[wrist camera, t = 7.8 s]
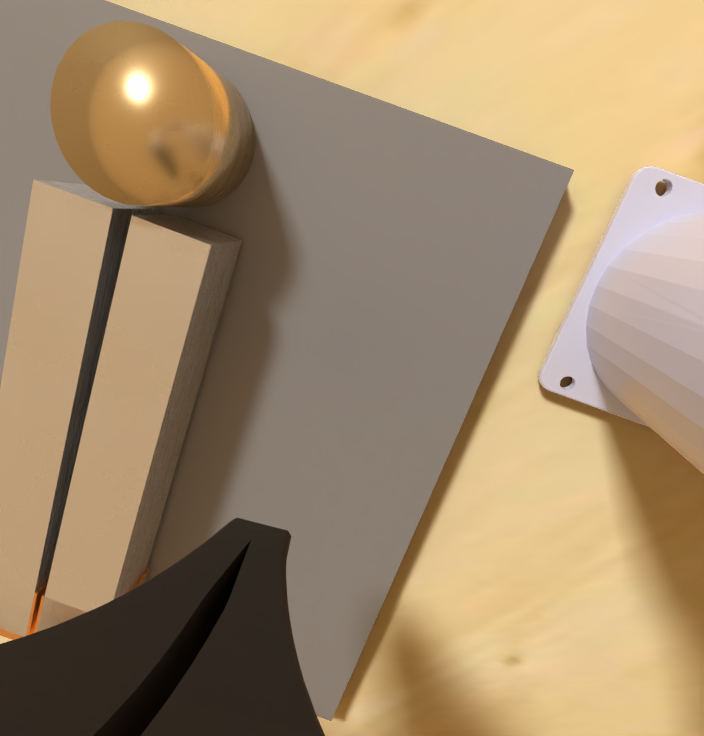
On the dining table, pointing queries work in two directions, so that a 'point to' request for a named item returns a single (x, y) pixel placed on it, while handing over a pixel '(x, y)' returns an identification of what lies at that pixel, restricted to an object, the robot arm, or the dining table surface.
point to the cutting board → (314, 314)
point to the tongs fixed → (95, 260)
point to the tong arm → (138, 410)
